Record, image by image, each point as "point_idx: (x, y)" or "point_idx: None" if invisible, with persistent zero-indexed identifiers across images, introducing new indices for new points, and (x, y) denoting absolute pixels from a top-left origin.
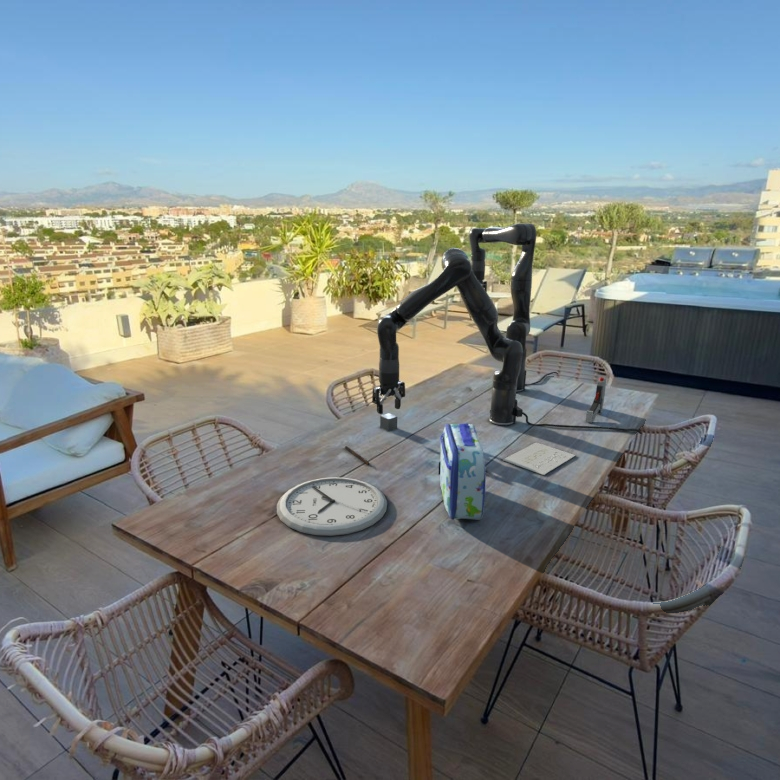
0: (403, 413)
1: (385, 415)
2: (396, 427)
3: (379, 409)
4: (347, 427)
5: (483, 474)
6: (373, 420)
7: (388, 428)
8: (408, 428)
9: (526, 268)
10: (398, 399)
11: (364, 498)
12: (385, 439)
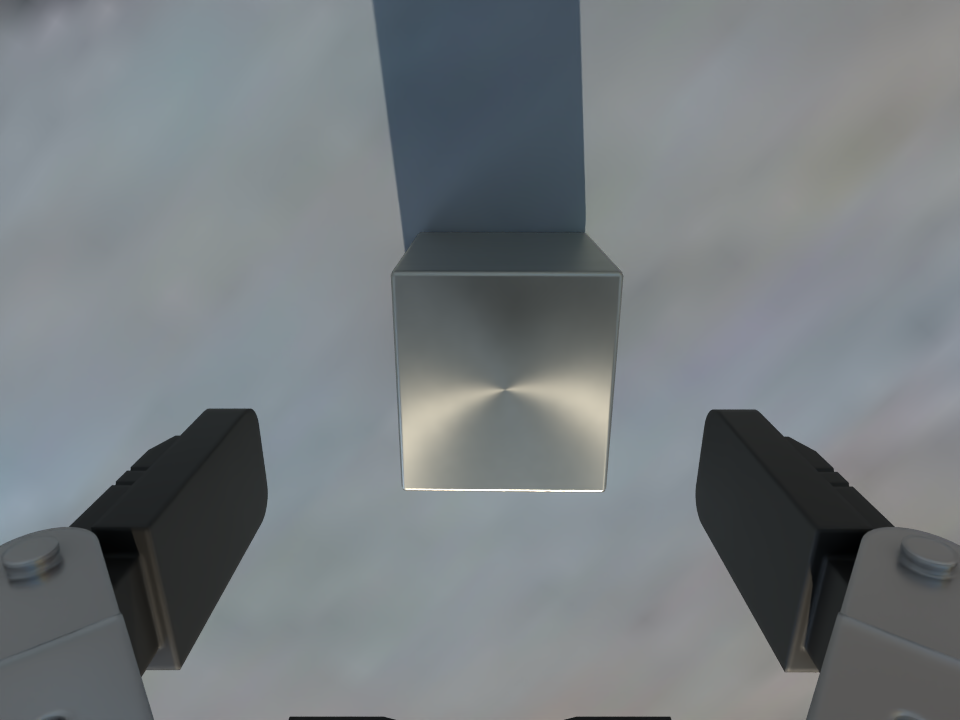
0: None
1: (532, 445)
2: (432, 234)
3: (837, 484)
4: None
5: None
6: (474, 608)
7: (591, 240)
8: (273, 134)
9: None
10: (125, 566)
11: None
12: (848, 9)
